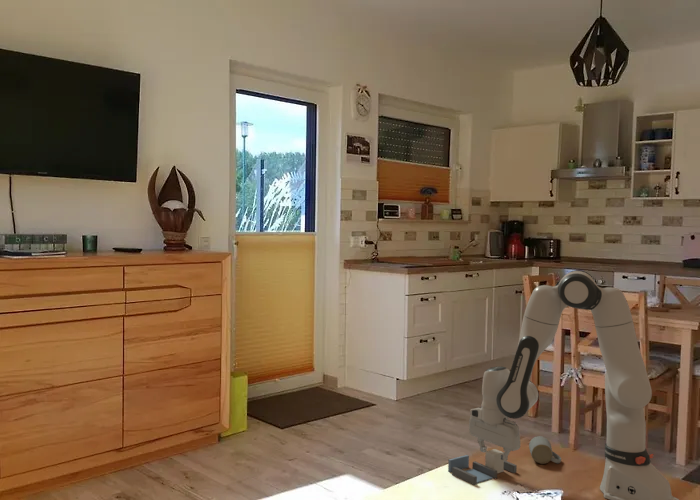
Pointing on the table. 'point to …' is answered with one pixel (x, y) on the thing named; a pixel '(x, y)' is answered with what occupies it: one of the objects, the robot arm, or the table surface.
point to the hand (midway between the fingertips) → (493, 455)
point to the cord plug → (494, 460)
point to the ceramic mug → (542, 451)
